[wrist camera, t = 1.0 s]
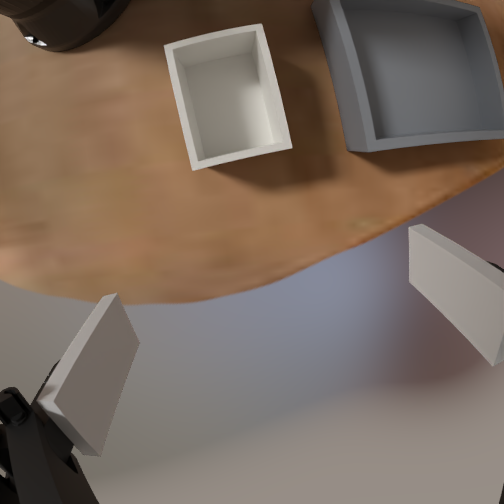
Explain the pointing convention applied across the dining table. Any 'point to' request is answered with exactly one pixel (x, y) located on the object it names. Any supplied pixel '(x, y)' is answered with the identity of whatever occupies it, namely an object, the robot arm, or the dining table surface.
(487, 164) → the dining table surface
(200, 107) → the white crate
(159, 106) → the dining table surface
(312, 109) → the dining table surface
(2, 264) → the dining table surface
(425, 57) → the slate crate
